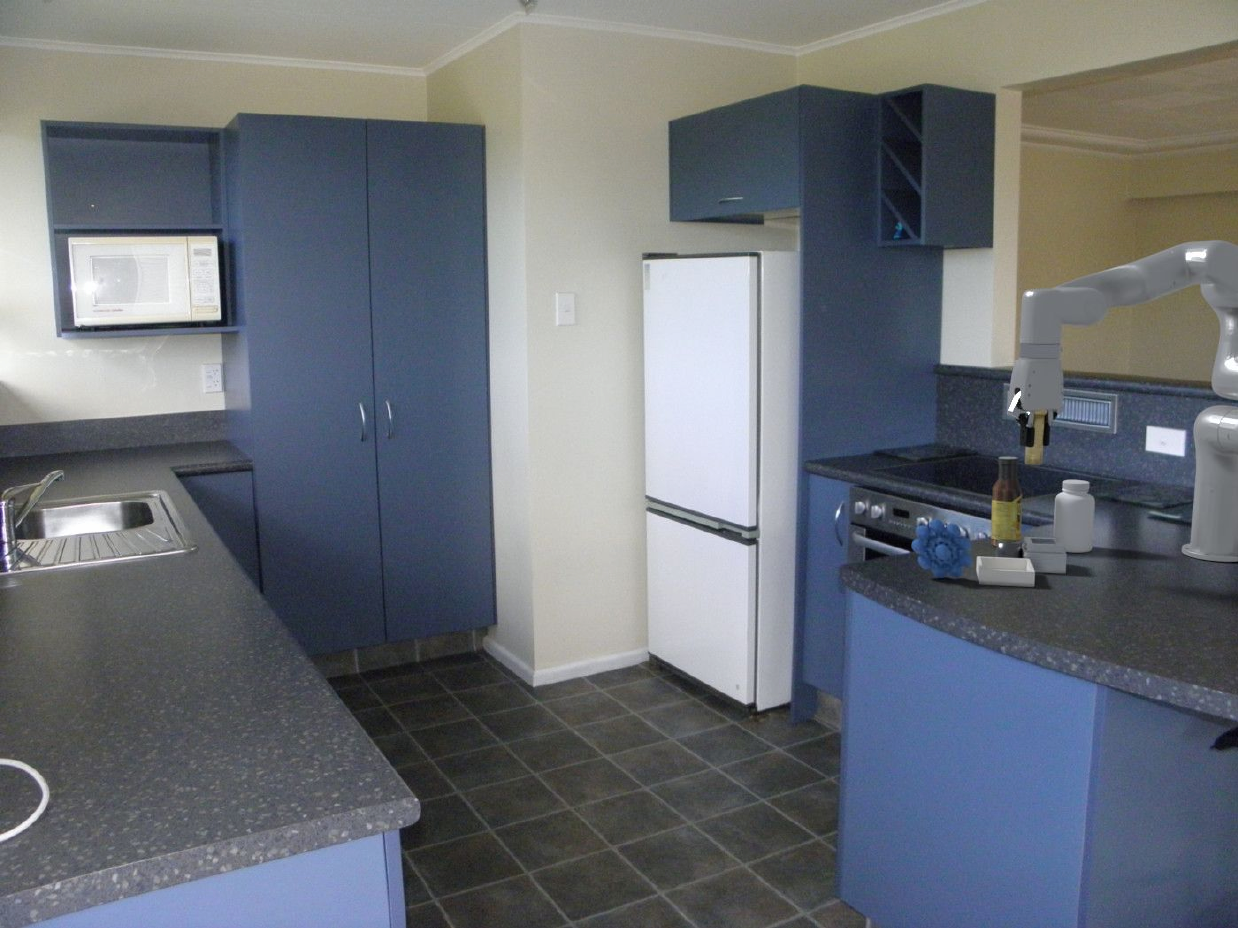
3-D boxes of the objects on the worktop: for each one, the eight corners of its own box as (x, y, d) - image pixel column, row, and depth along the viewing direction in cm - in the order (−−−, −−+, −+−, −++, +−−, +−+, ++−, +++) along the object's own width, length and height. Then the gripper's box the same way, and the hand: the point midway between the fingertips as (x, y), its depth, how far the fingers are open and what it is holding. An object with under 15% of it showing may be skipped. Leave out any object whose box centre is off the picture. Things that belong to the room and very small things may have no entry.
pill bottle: (1090, 545, 232) (1094, 478, 230) (1093, 554, 225) (1097, 485, 222) (1051, 543, 235) (1054, 477, 232) (1053, 552, 227) (1057, 484, 225)
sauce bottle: (1022, 550, 230) (1026, 460, 226) (992, 549, 231) (996, 460, 228) (1017, 542, 236) (1021, 455, 233) (988, 542, 237) (991, 455, 234)
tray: (1028, 573, 212) (1029, 558, 211) (1034, 587, 202) (1034, 571, 202) (976, 570, 214) (976, 556, 214) (979, 584, 205) (979, 569, 204)
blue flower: (911, 582, 207) (913, 523, 205) (910, 573, 213) (911, 515, 211) (973, 585, 204) (976, 525, 202) (970, 576, 211) (972, 517, 209)
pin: (1033, 461, 212) (1037, 405, 210) (1048, 464, 208) (1052, 407, 207) (1018, 462, 211) (1021, 406, 209) (1032, 465, 207) (1036, 409, 205)
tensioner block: (1060, 563, 219) (1061, 537, 218) (1065, 573, 211) (1067, 546, 210) (994, 560, 222) (995, 534, 221) (996, 570, 214) (997, 544, 213)
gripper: (1057, 350, 212) (1051, 440, 215) (992, 353, 206) (988, 446, 209) (1086, 352, 206) (1080, 445, 209) (1020, 355, 199) (1015, 451, 202)
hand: (1034, 444), depth 209 cm, fingers closed on pin, 3 cm apart
